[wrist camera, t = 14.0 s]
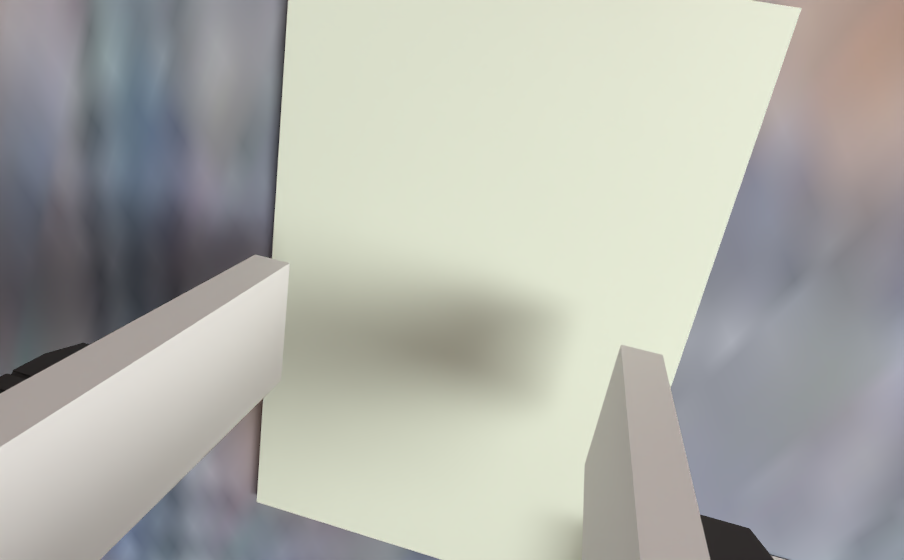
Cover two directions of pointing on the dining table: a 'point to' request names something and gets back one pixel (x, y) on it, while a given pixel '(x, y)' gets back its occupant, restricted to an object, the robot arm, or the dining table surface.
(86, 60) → the dining table surface
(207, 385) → the robot arm
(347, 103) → the pad
